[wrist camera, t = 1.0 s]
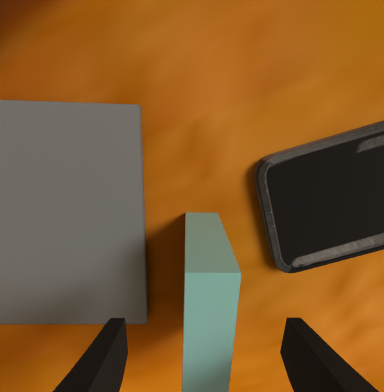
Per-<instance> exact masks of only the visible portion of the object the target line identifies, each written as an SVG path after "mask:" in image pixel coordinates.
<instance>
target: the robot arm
mask: <svg viewBox="0 0 384 392" xmlns="http://www.w3.org/2000/svg"><path fill="white" fill-rule="evenodd" d="M280 353H281V356H282V359H283V362H284V366H285V369H286V372H287V375H288V378H289V380H290V383H291V385H292V388H293V390H294V392H379V391H378V390H377V389H375V388H374V387H373V386H372V385H371V384H370V383H369V382H367V381H366V380H365V379H364V378H363V377H362V376H361V375H360V374H359V373H357V372H356V371H355V370H354V369H353V368H352V367H351V366H350V365H349V364H348V363H347V362H346V361H345V360H343V359H342V358H341V357H340V356H339V355H338V354H337V353H336V352H335V351H334V350H333V349H332V348H331V347H330V346H329V345H328V344H327V343H326V342H325V341H324V340H323V339H322V338H321V337H320V336H319V335H318V334H317V333H316V332H315V331H314V330H313V329H312V328H311V327H310V326H308V325H307V324H306V323H305V322H304V321H303V320H302V319H301V318H287V320H286V326H285V331H284V336H283V341H282V346H281V351H280ZM127 355H128V349H127V336H126V322H125V318H110V319H109V320H108V322H107V323H106V324H105V326H104V327H103V329H102V330H101V332H100V333H99V334H98V336H97V337H96V338H95V340H94V341H93V342H92V344H91V345H90V346H89V348H88V349H87V350H86V352H85V353H84V354H83V355H82V357H81V358H80V359H79V361H78V362H77V363H76V364H75V366H74V367H73V368H72V369H71V371H70V372H69V373H68V374H67V376H66V377H65V378H64V379H63V380H62V381H61V383H60V384H59V385H58V386H57V387H56V388H55V390H54V391H53V392H119V390H120V387H121V383H122V379H123V374H124V370H125V365H126V360H127Z"/></svg>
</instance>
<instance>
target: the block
mask: <svg viewBox="0 0 384 392" xmlns="http://www.w3.org/2000/svg"><path fill="white" fill-rule="evenodd" d="M240 281H241V271H240V268H239V266H238V263H237V261H236V258H235V256H234V253H233V250H232V248H231V245H230V243H229V240H228V238H227V235H226V233H225V230H224V227H223V225H222V222H221V220H220V217H219V215H218V213H192V212H186V214H185V260H184V305H183V364H182V392H228V390H229V381H230V372H231V363H232V354H233V345H234V336H235V327H236V317H237V308H238V299H239V290H240Z"/></svg>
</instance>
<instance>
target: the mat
mask: <svg viewBox="0 0 384 392" xmlns="http://www.w3.org/2000/svg"><path fill="white" fill-rule="evenodd" d="M110 318H125V322H126V324H147V321H148V296H147V267H146V238H145V210H144V181H143V153H142V124H141V106H140V105H132V104H103V103H74V102H45V101H16V100H0V324H106V323H107V322H108V320H109V319H110Z"/></svg>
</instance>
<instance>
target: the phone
mask: <svg viewBox="0 0 384 392" xmlns="http://www.w3.org/2000/svg"><path fill="white" fill-rule="evenodd" d="M254 180H255V184H256V189H257V188H258V189H257V194H258V198H259V203H260V208H261V212H262V217H263V221H264V226H265V231H266V235H267V240H268V244H269V249H270V254H271V257H272V260H273V261H274V263H275V264H276V266H277V267H278V268H279V269H280V270H281V271H283V272H285V273H296V272H300V271H304V270H308V269H312V268H315V267H319V266H323V265H327V264H330V263H334V262H338V261H342V260H345V259H349V258H353V257H357V256H360V255H364V254H368V253H372V252H375V251H379V250H383V249H384V121H380V122H377V123H374V124H370V125H367V126H363V127H360V128H357V129H353V130H350V131H347V132H343V133H340V134H337V135H333V136H330V137H326V138H323V139H320V140H316V141H313V142H310V143H306V144H303V145H299V146H296V147H293V148H289V149H286V150H283V151H279V152H276V153H273V154H269V155H267V156H265V157H263V158H262V159H261V160H260V161H259V162H258V164H257V166H256V168H255V171H254Z"/></svg>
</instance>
